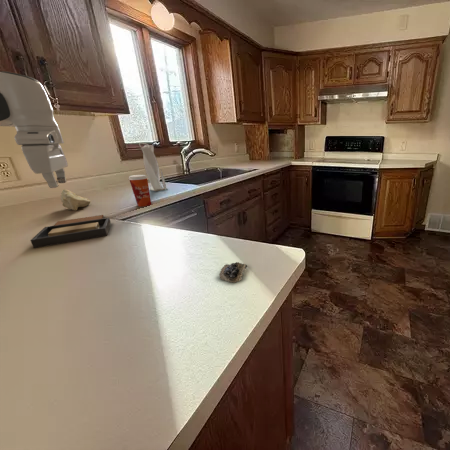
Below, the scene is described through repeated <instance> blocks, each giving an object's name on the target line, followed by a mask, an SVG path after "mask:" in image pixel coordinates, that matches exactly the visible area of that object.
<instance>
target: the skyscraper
mask: <svg viewBox="0 0 450 450" xmlns="http://www.w3.org/2000/svg"><path fill="white" fill-rule="evenodd" d="M141 144H143V145H144V146H142V145H141ZM138 145H139V147H140V149H141V152H142V153H143V154H142V156H143V161H142V162H143V167H144V171H145V173H146V174H145V175H146V176H147V177H148V178H147V180H148V182H149V183H150V187H149V191H152V192H157V193H158V192H161V191H166V190H168V187H167V185H166V181H165V180H166V179H165V176H164V173H163V170H162V169H160V166H159V162H158V160H157V157H156V154H155V153H154V151H155V149H154V148H155V147H154V145H151V144H148V143H147V142H139V143H138ZM161 183H162V184H161Z"/></svg>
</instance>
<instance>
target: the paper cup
mask: <svg viewBox="0 0 450 450" xmlns="http://www.w3.org/2000/svg"><path fill="white" fill-rule="evenodd" d="M128 181H129V184H130V186H131V189H132V193H133V196H134V199H135V202H136V205H137V206H138V207H148V206H151V205H152V198H151V193H150V187H149V179H148V176H147V174H134V175H129V176H128Z"/></svg>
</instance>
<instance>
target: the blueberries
mask: <svg viewBox="0 0 450 450" xmlns="http://www.w3.org/2000/svg"><path fill="white" fill-rule="evenodd" d="M247 268H248V265H247V264H245V263H242V262H239V261H236V262H232V263H230V264H228V263H226V264H224V266H222V268H221V269H220V271H219V274H218V275H219V279H220V280H222V281H225V282H228V283H232V284H234V283H238V282H240V281H242V279H243V276H244V274H243V273H245V271H246V270H247Z"/></svg>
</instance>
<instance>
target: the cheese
mask: <svg viewBox="0 0 450 450" xmlns="http://www.w3.org/2000/svg"><path fill="white" fill-rule="evenodd" d="M60 201H61V203H62V206H63V207H64V208H65V209H68V211H71V210H72V211H77V210H78V208H85V207H87V206H89V205H90V204H91V200H90V199H89V198H87V197H82V196H80V195H78V194H77V193H74V192H73V191H70V190H68V189H65V188H64V189H62V191H61V193H60Z"/></svg>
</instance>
